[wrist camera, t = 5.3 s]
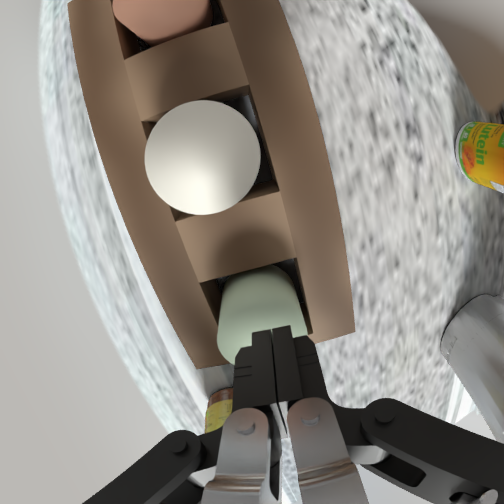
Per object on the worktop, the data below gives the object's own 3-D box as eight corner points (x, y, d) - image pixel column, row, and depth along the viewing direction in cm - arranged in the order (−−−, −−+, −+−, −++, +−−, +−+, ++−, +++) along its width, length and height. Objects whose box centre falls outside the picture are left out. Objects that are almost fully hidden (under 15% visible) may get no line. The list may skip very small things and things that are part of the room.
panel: (246, -37, 12) (247, -65, 8) (340, 301, 23) (355, 331, 19) (93, 19, 13) (67, 3, 9) (202, 336, 24) (196, 369, 20)
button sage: (286, 254, 18) (298, 293, 14) (301, 314, 20) (313, 360, 16) (212, 274, 19) (203, 316, 15) (235, 331, 21) (233, 378, 16)
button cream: (242, 99, 15) (241, 85, 10) (266, 179, 17) (273, 196, 12) (161, 126, 15) (130, 125, 11) (186, 203, 17) (166, 228, 13)
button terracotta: (203, -17, 12) (192, -51, 8) (221, 36, 14) (214, 7, 10) (134, 8, 13) (107, -18, 8) (148, 62, 15) (120, 43, 10)
